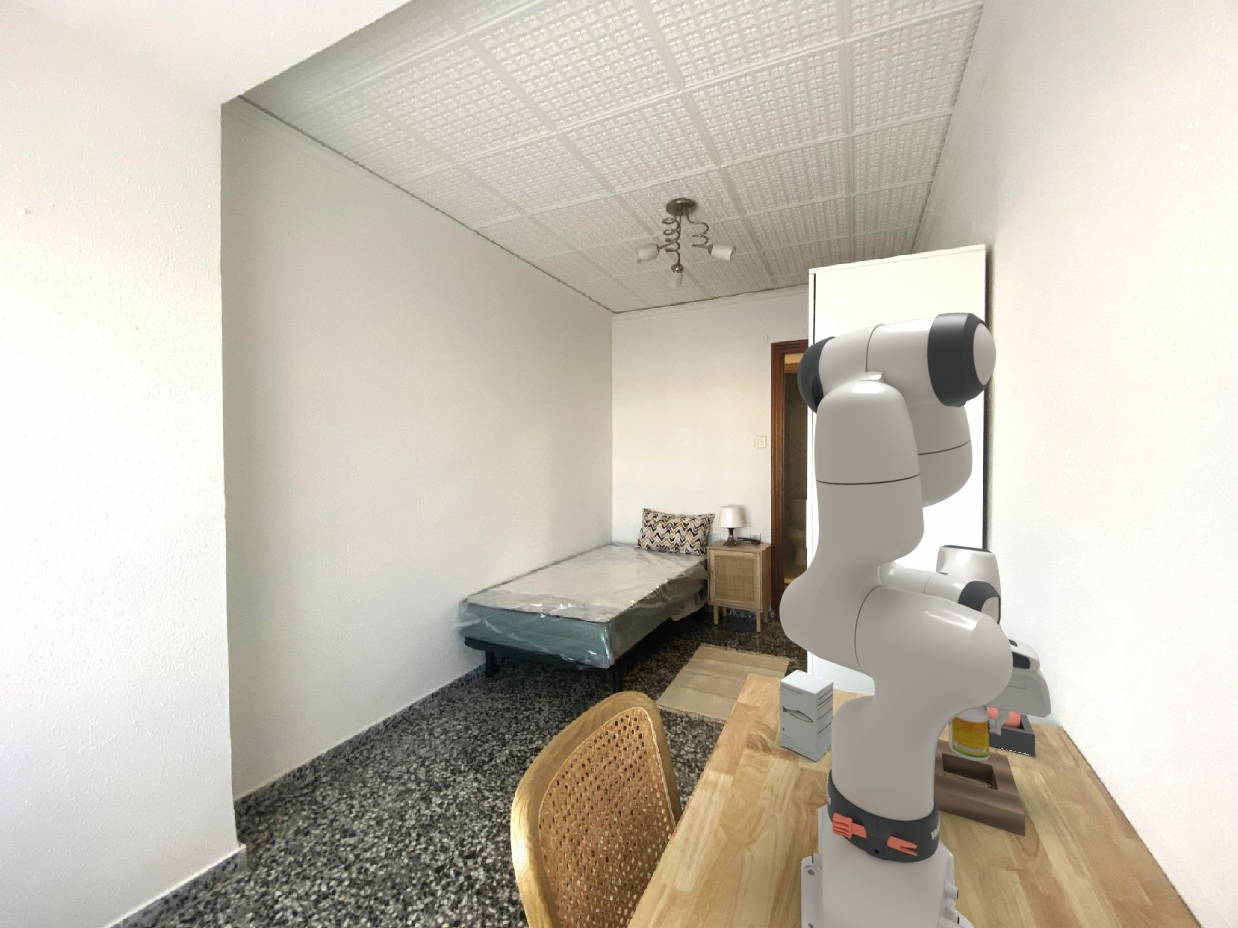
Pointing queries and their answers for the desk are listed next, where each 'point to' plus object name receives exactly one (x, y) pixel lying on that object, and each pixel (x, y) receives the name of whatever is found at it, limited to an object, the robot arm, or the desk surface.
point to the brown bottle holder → (978, 789)
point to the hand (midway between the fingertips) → (968, 726)
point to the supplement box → (806, 714)
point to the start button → (1011, 722)
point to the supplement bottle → (970, 734)
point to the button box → (1015, 737)
